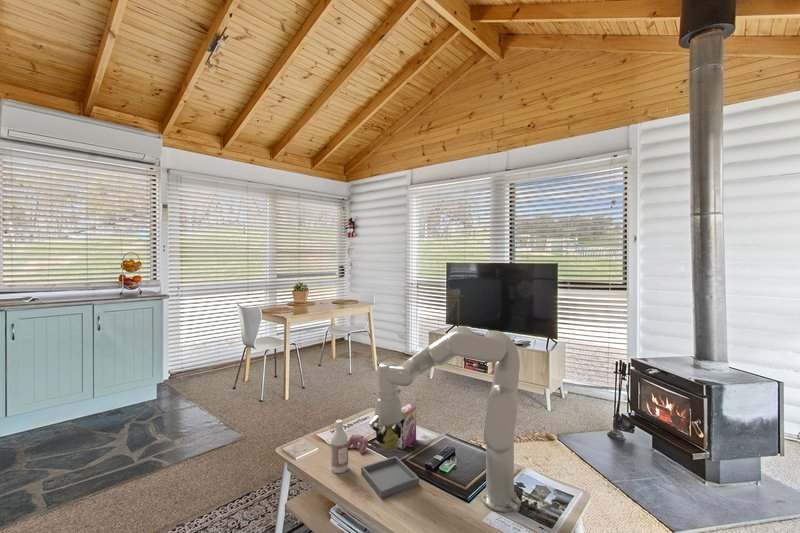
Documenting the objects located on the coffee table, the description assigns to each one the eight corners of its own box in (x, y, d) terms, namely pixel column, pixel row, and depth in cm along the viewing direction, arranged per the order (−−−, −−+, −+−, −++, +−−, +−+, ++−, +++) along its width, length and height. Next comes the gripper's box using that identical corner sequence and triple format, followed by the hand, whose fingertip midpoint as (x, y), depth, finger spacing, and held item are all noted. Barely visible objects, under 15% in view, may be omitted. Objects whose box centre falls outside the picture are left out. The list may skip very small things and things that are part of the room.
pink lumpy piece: (367, 454, 167) (370, 438, 170) (361, 454, 164) (365, 437, 166) (349, 449, 172) (353, 432, 175) (343, 448, 169) (348, 432, 171)
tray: (419, 485, 142) (419, 477, 142) (381, 499, 134) (381, 491, 134) (396, 462, 158) (395, 455, 157) (361, 474, 150) (361, 467, 150)
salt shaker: (376, 447, 144) (375, 422, 143) (384, 439, 150) (384, 414, 150) (393, 451, 140) (392, 425, 140) (401, 442, 147) (401, 417, 147)
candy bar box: (403, 450, 168) (402, 414, 167) (394, 446, 171) (394, 411, 170) (417, 439, 177) (416, 405, 177) (408, 437, 180) (407, 403, 179)
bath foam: (335, 476, 149) (334, 426, 148) (328, 467, 155) (327, 420, 154) (351, 470, 153) (350, 421, 152) (343, 462, 158) (343, 415, 158)
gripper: (402, 387, 152) (403, 430, 153) (363, 395, 144) (364, 441, 144) (412, 393, 146) (412, 437, 146) (372, 402, 137) (372, 449, 138)
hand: (388, 439), depth 145 cm, fingers closed on salt shaker, 7 cm apart
